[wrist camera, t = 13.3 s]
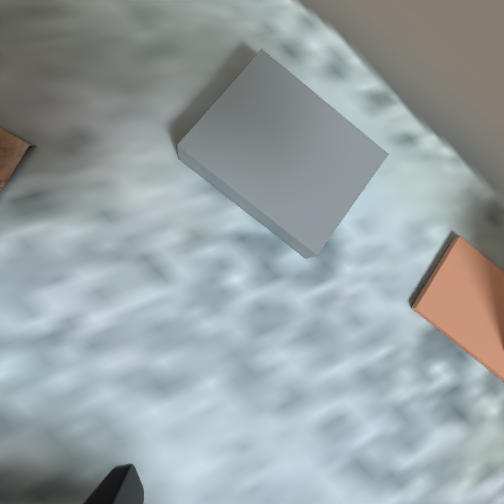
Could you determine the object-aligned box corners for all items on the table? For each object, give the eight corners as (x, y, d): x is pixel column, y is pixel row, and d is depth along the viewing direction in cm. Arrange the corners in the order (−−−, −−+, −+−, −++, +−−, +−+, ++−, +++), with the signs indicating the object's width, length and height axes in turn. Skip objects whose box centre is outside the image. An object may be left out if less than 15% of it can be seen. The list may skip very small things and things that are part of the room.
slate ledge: (371, 165, 23) (388, 153, 21) (305, 258, 21) (317, 255, 19) (255, 70, 22) (261, 48, 20) (178, 159, 20) (176, 145, 18)
